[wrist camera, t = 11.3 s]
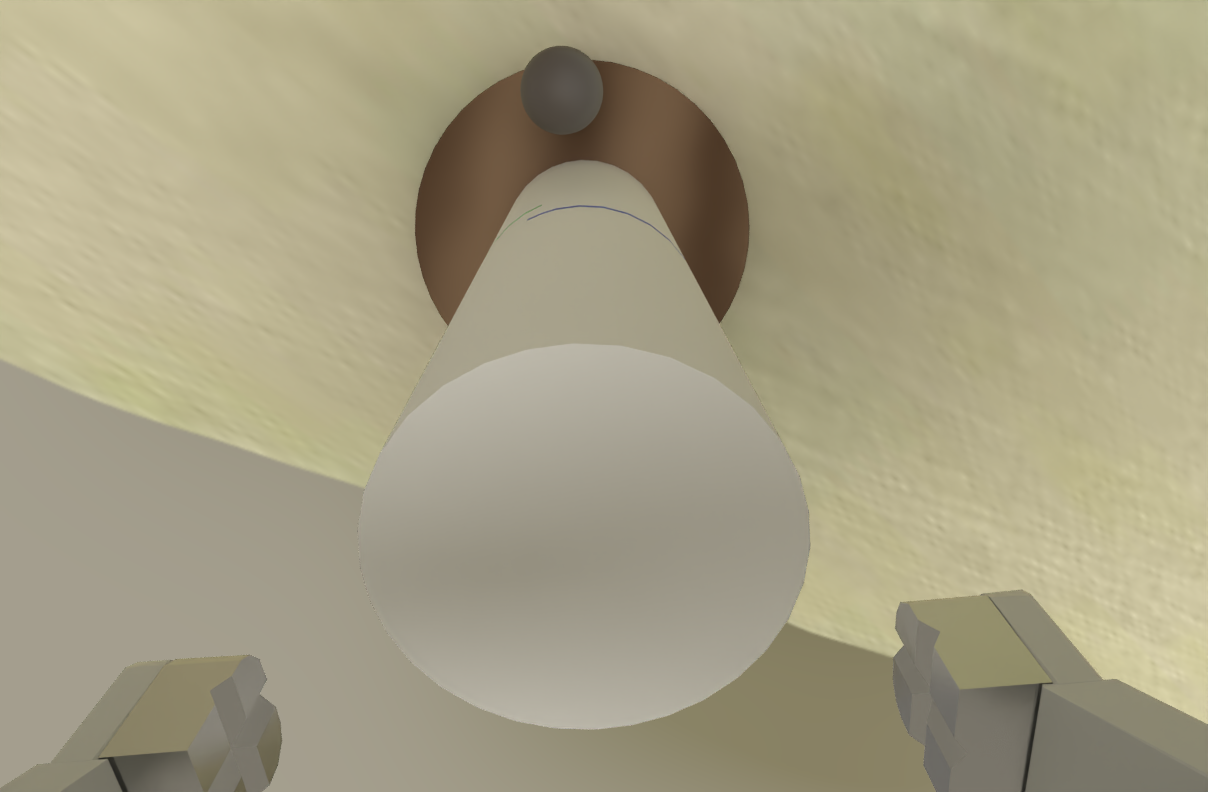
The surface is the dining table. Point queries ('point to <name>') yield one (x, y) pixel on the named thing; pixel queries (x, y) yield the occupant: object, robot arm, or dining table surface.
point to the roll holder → (569, 133)
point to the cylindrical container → (583, 478)
